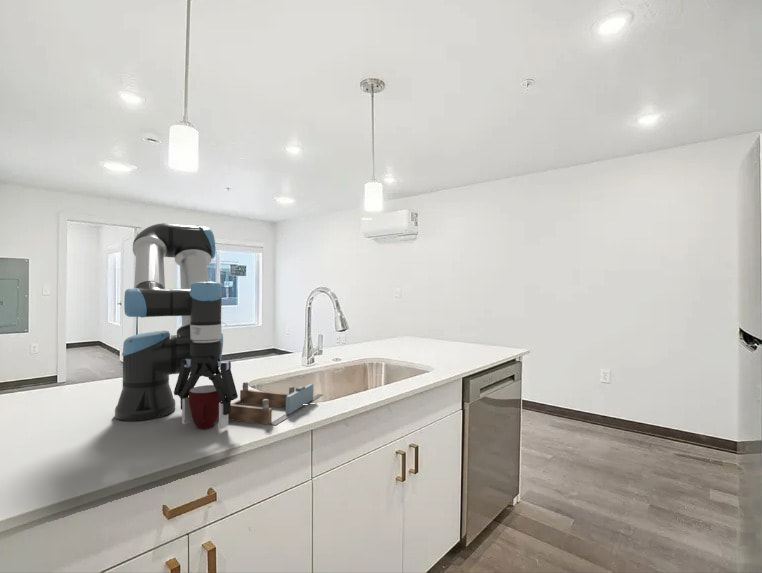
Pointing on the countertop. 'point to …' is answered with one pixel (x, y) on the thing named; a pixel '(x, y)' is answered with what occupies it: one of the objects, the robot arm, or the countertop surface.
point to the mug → (204, 406)
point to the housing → (260, 413)
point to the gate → (299, 398)
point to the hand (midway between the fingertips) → (205, 424)
